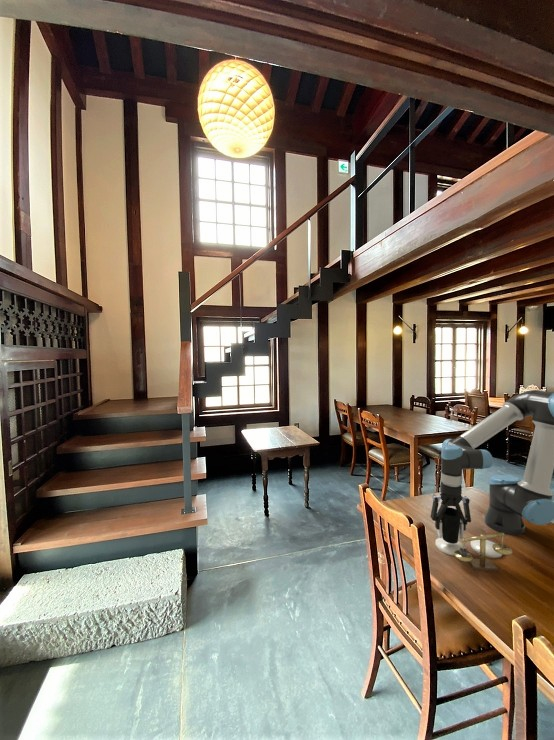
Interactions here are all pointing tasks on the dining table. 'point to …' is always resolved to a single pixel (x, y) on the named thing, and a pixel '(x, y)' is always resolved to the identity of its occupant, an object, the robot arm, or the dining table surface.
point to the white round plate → (489, 549)
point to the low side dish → (448, 546)
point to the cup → (450, 525)
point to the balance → (482, 553)
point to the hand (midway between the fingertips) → (450, 536)
